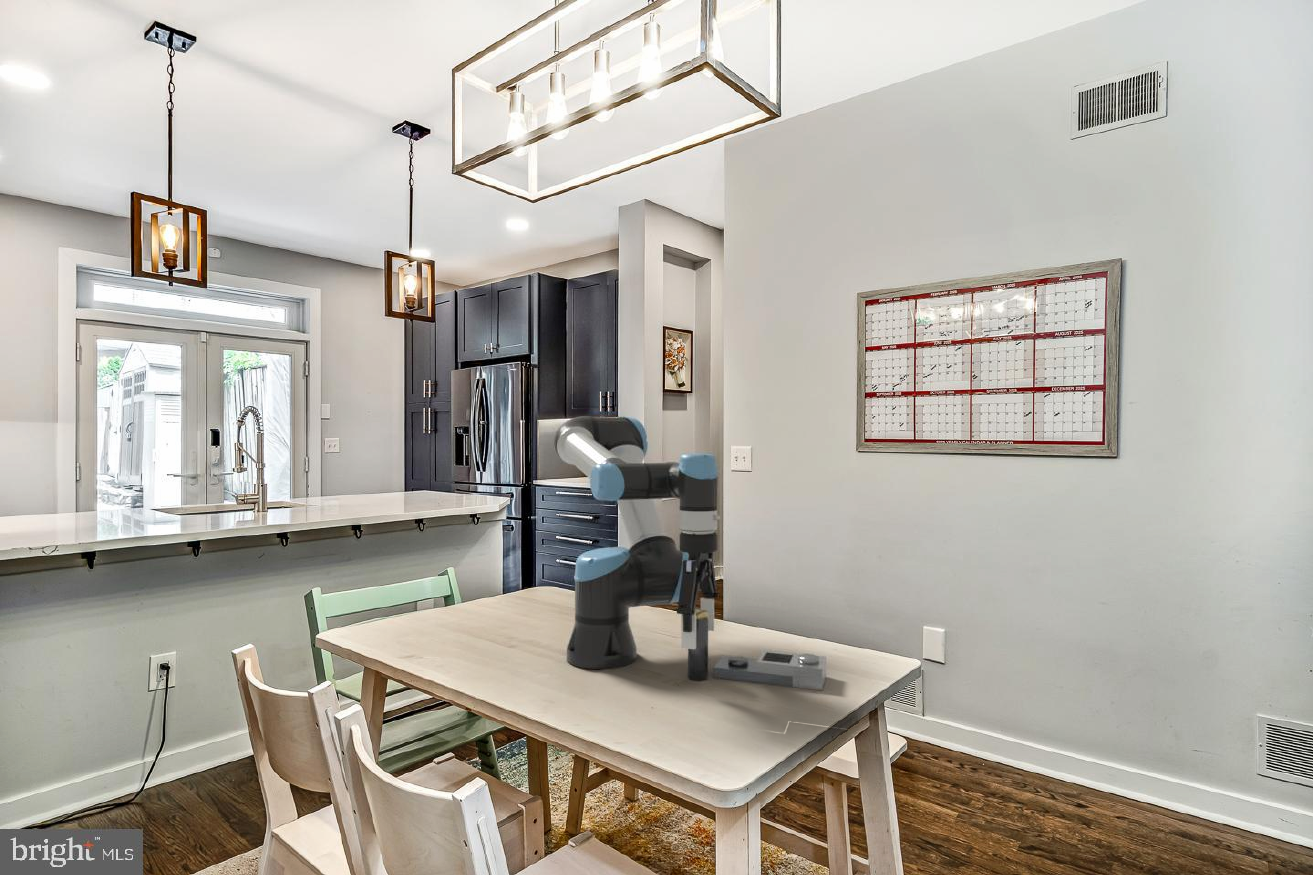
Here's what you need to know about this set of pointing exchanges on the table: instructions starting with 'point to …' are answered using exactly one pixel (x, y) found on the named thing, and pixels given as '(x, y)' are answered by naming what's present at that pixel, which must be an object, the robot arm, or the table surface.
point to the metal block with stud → (775, 669)
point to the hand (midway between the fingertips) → (698, 638)
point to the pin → (699, 649)
